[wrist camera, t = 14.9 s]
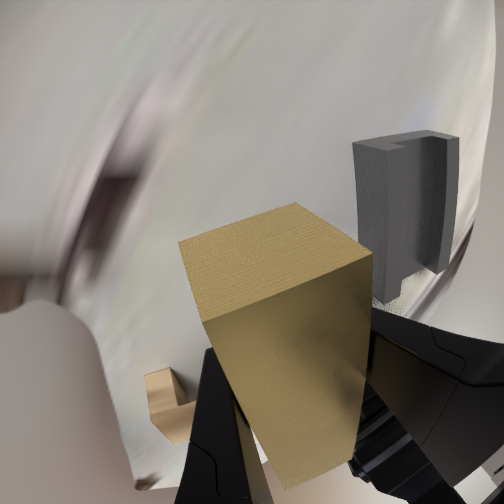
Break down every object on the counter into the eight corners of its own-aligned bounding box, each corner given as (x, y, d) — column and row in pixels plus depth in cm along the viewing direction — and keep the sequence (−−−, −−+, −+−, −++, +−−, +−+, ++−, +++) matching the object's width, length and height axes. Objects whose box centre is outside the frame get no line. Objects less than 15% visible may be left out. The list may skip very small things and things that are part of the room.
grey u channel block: (423, 251, 27) (448, 267, 24) (358, 283, 25) (383, 305, 22) (427, 129, 21) (459, 137, 18) (352, 142, 19) (386, 150, 16)
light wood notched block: (258, 368, 25) (278, 407, 22) (164, 401, 24) (172, 443, 20) (249, 339, 23) (271, 380, 20) (144, 375, 22) (150, 421, 18)
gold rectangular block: (320, 410, 15) (351, 458, 12) (260, 436, 14) (285, 490, 11) (295, 202, 9) (372, 252, 6) (177, 242, 8) (201, 322, 5)
